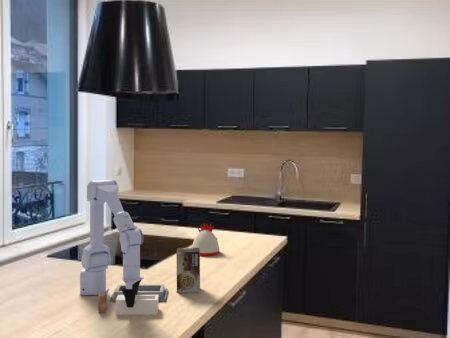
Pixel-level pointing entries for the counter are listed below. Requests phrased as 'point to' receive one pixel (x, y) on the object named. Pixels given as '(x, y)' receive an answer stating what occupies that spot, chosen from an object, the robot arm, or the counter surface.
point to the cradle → (143, 291)
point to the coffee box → (188, 270)
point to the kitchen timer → (206, 242)
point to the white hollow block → (138, 305)
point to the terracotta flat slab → (102, 302)
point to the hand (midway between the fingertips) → (131, 303)
